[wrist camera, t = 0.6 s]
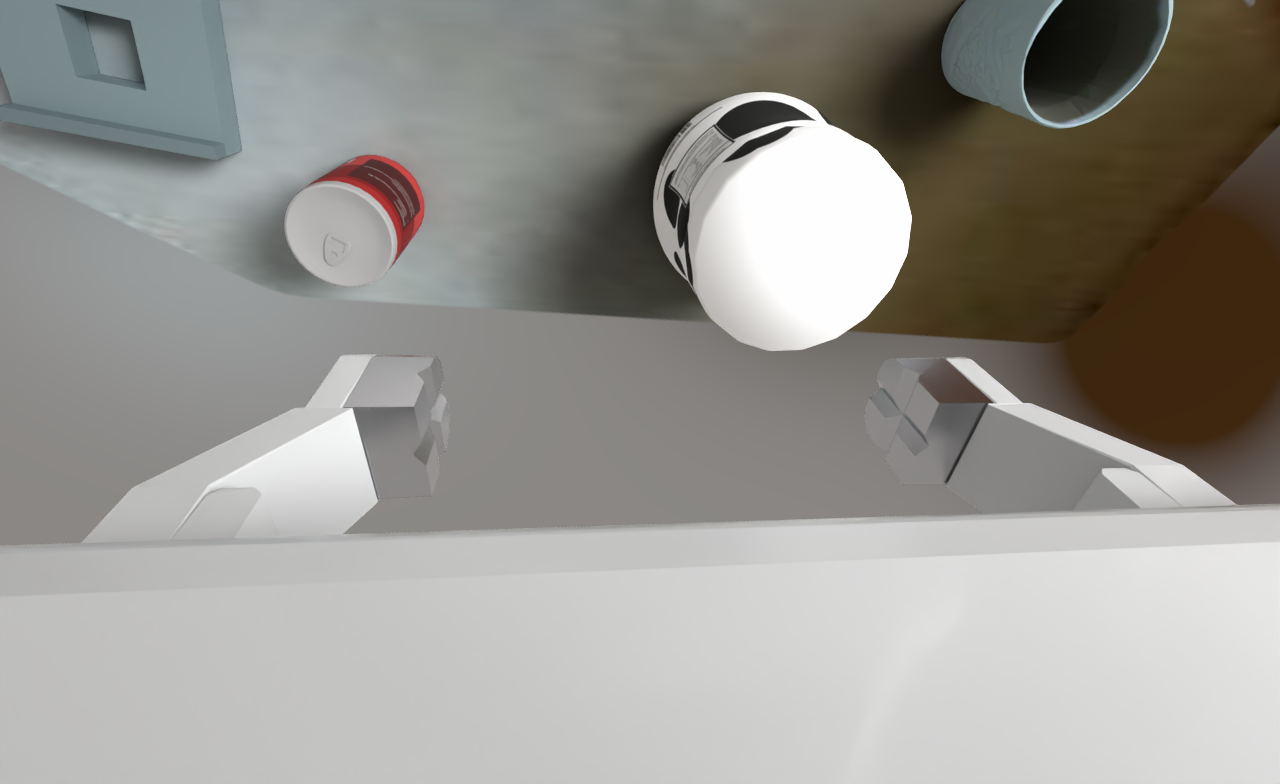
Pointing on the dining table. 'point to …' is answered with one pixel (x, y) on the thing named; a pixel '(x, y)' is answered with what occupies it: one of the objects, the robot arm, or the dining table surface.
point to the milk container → (780, 220)
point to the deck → (113, 107)
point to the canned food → (354, 221)
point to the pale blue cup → (1053, 54)
